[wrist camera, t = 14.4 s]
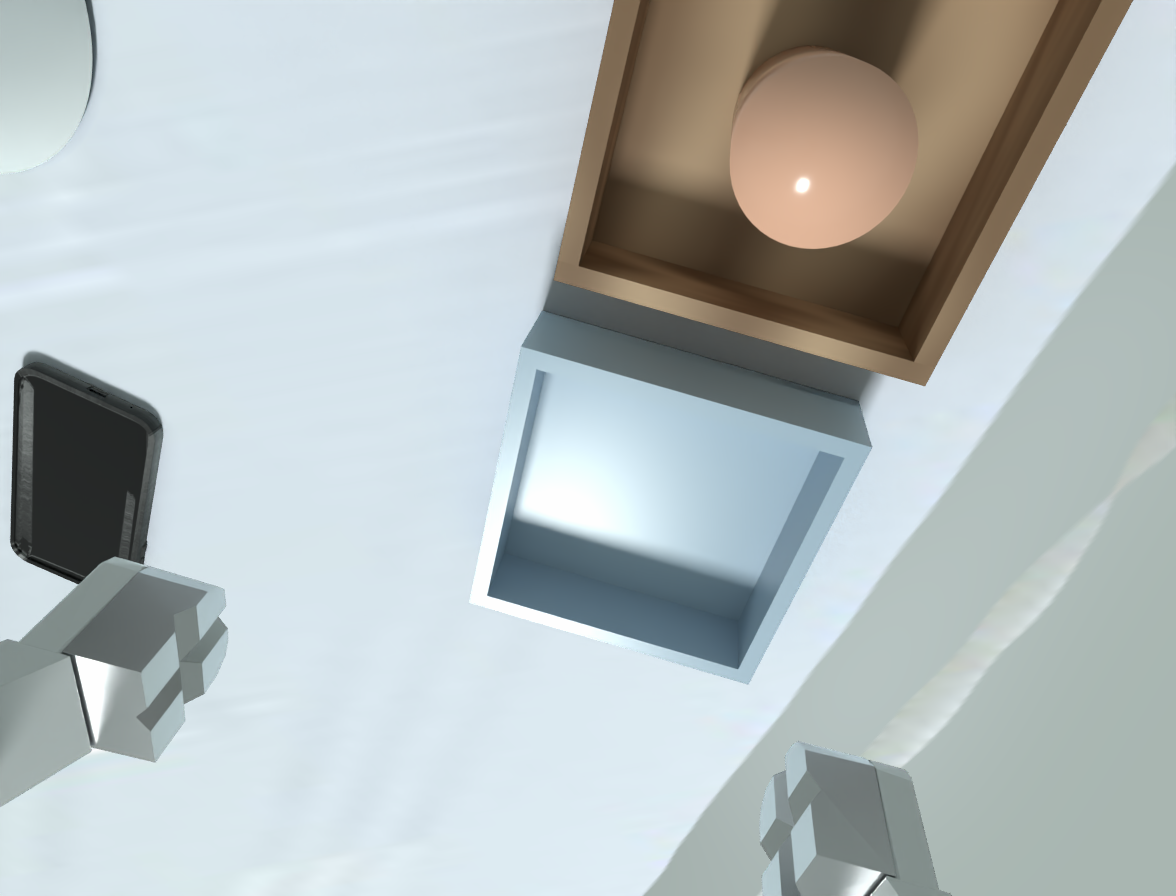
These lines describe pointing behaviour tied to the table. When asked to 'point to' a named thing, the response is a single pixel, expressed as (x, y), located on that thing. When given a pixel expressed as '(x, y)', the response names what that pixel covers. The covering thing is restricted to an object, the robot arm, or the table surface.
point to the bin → (660, 496)
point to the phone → (79, 473)
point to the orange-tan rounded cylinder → (820, 147)
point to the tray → (879, 257)
